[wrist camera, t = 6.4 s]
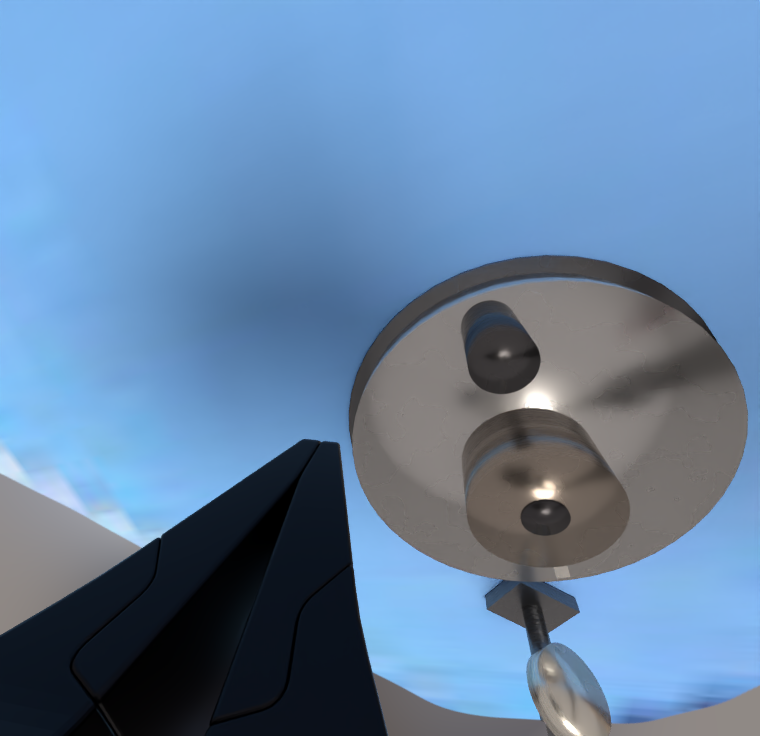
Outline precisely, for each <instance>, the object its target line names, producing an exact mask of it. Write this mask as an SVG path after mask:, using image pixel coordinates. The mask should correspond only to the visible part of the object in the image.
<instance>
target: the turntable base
mask: <svg viewBox="0 0 760 736" xmlns="http://www.w3.org/2000/svg"><path fill="white" fill-rule="evenodd" d="M546 272H550V273H570V274H580V275H585V276H591V277H596V278H602V279H606V280H609V281H612V282H615V283H618V284H621V285H624V286H627V287H630V288H632V289H634V290H637V291H639V292H641V293H643V294H646V295H648V296H650V297H652V298H654V299H656V300H658V301H660V302H662V303H664V304H666V305H668V306H670V307H672V308H674V309H676V310H678V311H680V312H682V313H683V314H684V315H686V316H687V317H689V318H690V319H691V320H693V321H694V322H695V323H697V324H698V325H700V326H701V327H702V328H703V329H704V330H705V331H706V332H707V333H708V334H709V335H710V336H711V337H712V338H713V339H714V340H715V341H716V339H715V337H714V336H713V334H712V333H711V331H710V330H709V328H708V327H707V325H706V324H705V322H704V321H703V319H702V318H701V317H700V316H699V315H698V314H697V313H696V312H695V311H694V310H693V309H692V308H691V307H690V306H689V305H688V304H687V303H686V302H685V301H684V300H683V299H682V298H680V297H679V296H678V295H676V294H675V293H673V292H672V291H671V290H669V289H668V288H667V287H665V286H664V285H662V284H660V283H658V282H656V281H654V280H652V279H650V278H648V277H646V276H644V275H642V274H640V273H639V272H636V271H633V270H630V269H627V268H624V267H621V266H618V265H615V264H612V263H609V262H605V261H600V260H594V259H589V258H583V257H577V256H555V255H543V256H531V257H520V258H513V259H509V260H504V261H499V262H495V263H490V264H486V265H483V266H480V267H477V268H475V269H472V270H469V271H466V272H463V273H460V274H458V275H456V276H454V277H452V278H450V279H448V280H446V281H444V282H442V283H440V284H438V285H436V286H434V287H433V288H431V289H430V290H428V291H427V292H425V293H424V294H422V295H421V296H419V297H418V298H416V299H415V300H413V301H412V302H411V303H410V304H409V305H407V306H406V307H405V308H404V309H403V310H402V311H401V312H399V313H398V314H397V315H396V316H395V317H394V318H393V319H392V320H391V321H390V322H389V324H388V325H387V326H386V327H385V328H384V329H383V330H382V332H381V333H380V334H379V335H378V337H377V338H376V340H375V341H374V343H373V344H372V346H371V347H370V349H369V350H368V352H367V354H366V356H365V358H364V360H363V362H362V364H361V367H360V369H359V371H358V373H357V376H356V379H355V383H354V386H353V390H352V393H351V400H350V408H349V431H350V436H351V442H352V448H353V428H354V421H355V415H356V412H357V409H358V406H359V403H360V399H361V396H362V394H363V391H364V389H365V386H366V383H367V381H368V379H369V377H370V374H371V372H372V370H373V368H374V366H375V364H376V362H377V361H378V359H379V358H380V356H381V355H382V353H383V352H384V351H385V349H386V348H387V346H388V345H389V344H390V343H391V341H392V340H393V339H394V338H395V337H396V336H397V335H398V334H399V333H400V332H401V331H402V329H403V328H405V327H406V326H407V325H408V324H409V323H411V322H412V321H413V320H414V319H415V318H416V317H418V316H419V315H420V314H421V313H423V312H424V311H426V310H427V309H429V308H431V307H432V306H434V305H435V304H437V303H438V302H440V301H442V300H443V299H445V298H448V297H450V296H452V295H454V294H456V293H458V292H460V291H462V290H464V289H467V288H470V287H473V286H476V285H479V284H482V283H485V282H488V281H491V280H495V279H500V278H505V277H510V276H515V275H520V274H533V273H546ZM716 342H717V341H716Z"/></svg>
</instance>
